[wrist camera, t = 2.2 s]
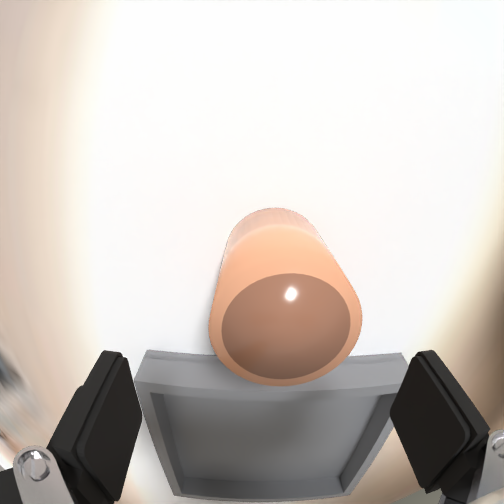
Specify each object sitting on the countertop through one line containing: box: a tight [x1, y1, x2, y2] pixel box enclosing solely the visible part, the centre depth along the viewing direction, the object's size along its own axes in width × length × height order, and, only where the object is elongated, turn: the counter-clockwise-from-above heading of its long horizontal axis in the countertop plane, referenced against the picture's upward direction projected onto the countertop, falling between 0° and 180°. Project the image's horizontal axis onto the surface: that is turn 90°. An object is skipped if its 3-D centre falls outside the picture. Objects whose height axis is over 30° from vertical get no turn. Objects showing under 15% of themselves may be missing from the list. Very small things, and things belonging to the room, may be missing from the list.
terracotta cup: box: [209, 208, 362, 386], centre depth 15 cm, size 6×6×8 cm
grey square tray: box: [134, 350, 409, 502], centre depth 24 cm, size 20×20×4 cm
